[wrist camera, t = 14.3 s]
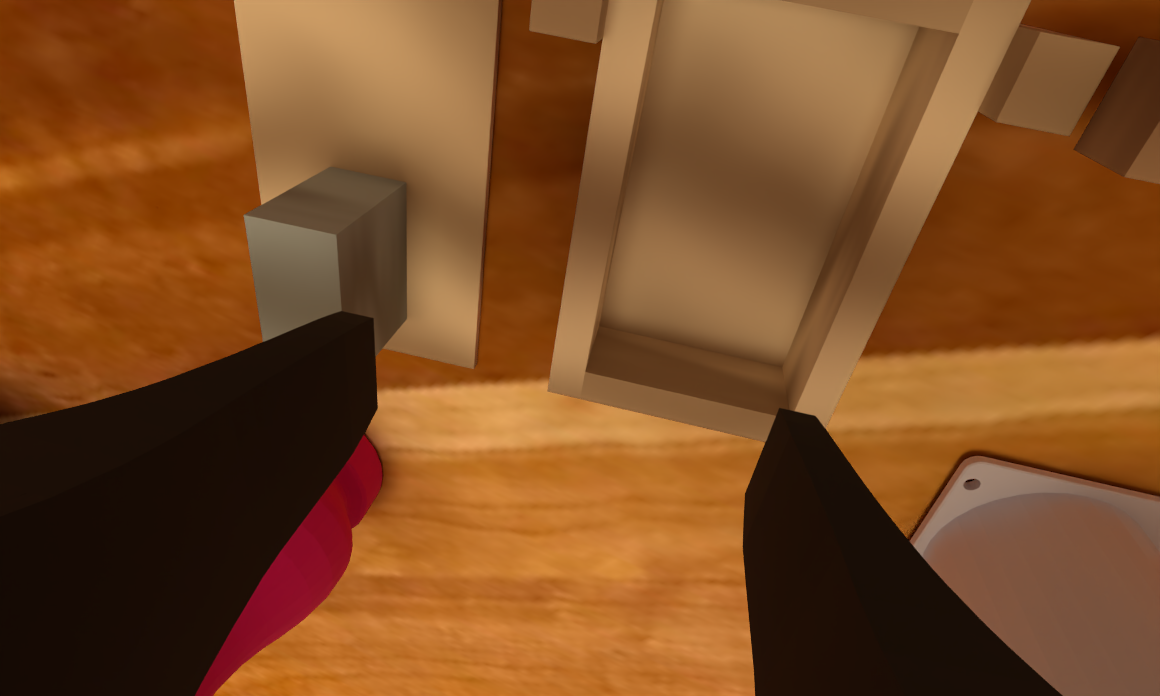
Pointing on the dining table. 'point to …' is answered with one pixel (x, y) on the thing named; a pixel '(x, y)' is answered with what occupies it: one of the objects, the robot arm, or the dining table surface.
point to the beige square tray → (773, 185)
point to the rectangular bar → (1129, 118)
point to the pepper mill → (302, 567)
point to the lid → (372, 165)
